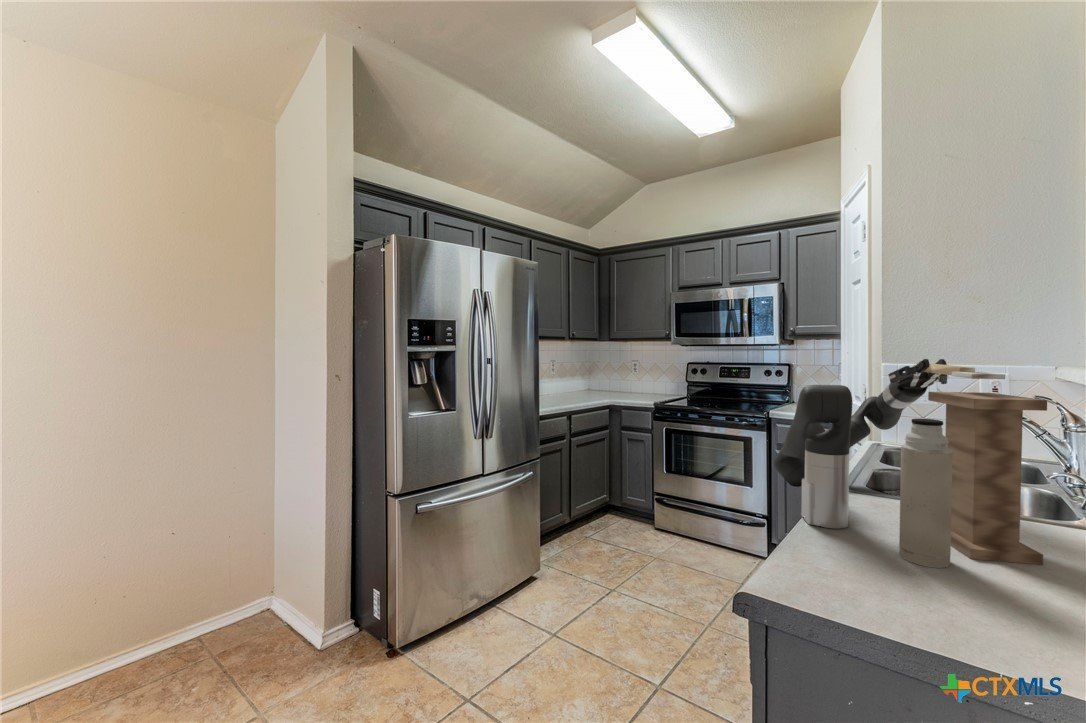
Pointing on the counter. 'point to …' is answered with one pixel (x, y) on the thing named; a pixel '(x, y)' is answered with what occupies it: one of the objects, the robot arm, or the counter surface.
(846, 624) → the counter surface
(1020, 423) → the stand
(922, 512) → the thermos bottle
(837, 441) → the robot arm
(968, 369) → the paddle
